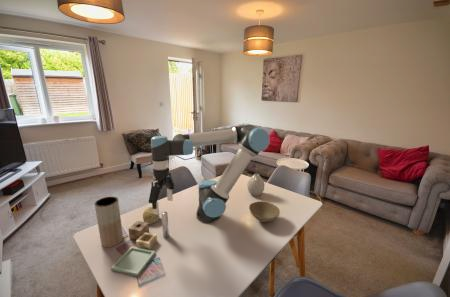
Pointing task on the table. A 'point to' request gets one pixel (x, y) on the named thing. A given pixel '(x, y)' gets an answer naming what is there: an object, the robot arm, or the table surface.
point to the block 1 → (138, 229)
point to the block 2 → (145, 237)
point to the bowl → (264, 211)
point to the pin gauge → (165, 224)
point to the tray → (133, 261)
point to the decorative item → (150, 216)
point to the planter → (109, 221)
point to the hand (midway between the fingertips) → (163, 206)
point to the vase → (255, 185)
